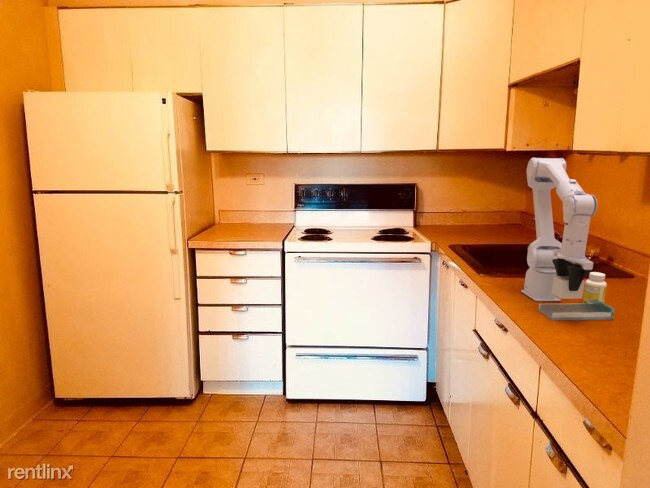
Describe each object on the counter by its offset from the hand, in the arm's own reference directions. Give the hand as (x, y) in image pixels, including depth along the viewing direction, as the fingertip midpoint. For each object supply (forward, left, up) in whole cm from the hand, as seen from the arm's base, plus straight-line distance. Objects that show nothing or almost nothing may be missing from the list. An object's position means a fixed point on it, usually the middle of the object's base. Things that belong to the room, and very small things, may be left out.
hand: (567, 287), depth 119 cm
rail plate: (-1, +4, -8) cm, 9 cm away
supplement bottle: (-8, +14, -9) cm, 18 cm away
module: (0, 0, -2) cm, 2 cm away
